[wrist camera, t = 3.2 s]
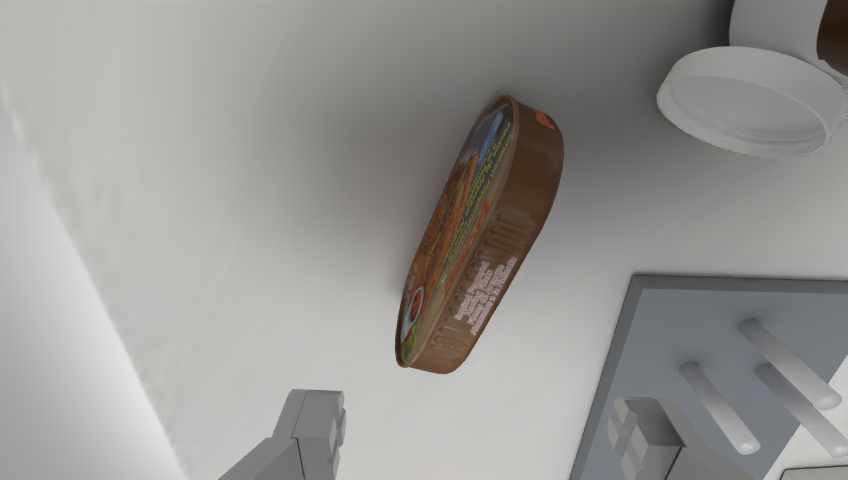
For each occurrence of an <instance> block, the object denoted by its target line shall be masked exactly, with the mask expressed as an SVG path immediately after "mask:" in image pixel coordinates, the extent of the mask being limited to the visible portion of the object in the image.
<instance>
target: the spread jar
mask: <svg viewBox="0 0 848 480" xmlns="http://www.w3.org/2000/svg"><path fill="white" fill-rule="evenodd" d="M728 38H729V45H730V46H728V47H714V48H707V49H702V50H699V51H696V52H693V53H690V54H688V55H686V56H684V57H682V58H681V59H679V60H678V61H677V62H676V63H675V64H674V66H673V67H672V69H671V71H670V72H669V74H668V75H667V77H666V79H665V80H664V82H663V84H662V85H661V87H660V88H659V90H658V93H657V95H656V98H657V104H658V107H659V109H660V111H661V112H662V113H663V115H664V116H665V117H666V118H667V119H668V120H669V121H670V122H671V123H673V124H674V125H675V126H677V127H678V128H679V129H681V130H683V131H684V132H686V133H688V134H689V135H691V136H693V137H695V138H697V139H699V140H701V141H704V142H706V143H709V144H711V145H714V146H717V147H720V148H723V149H726V150H729V151H733V152H738V153H742V154H747V155H753V156H759V157H769V158H792V157H801V156H805V155H809V154H812V153H814V152H816V151H818V150H820V149H822V148H823V147H824V146H825V145H826V144H827V142H828V141H829V140H830V138H831V137H832V135H833V134H834V132H835V131H836V129H837V128H838V126H839V125H840V123H841V122H842V120H843V119H844V117H845V116H846V115H847V112H848V97H847V94H846V93H845V91H844V90H843V88H842V87H841V85H848V0H733V3H732V8H731V13H730V19H729V27H728Z"/></svg>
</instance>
